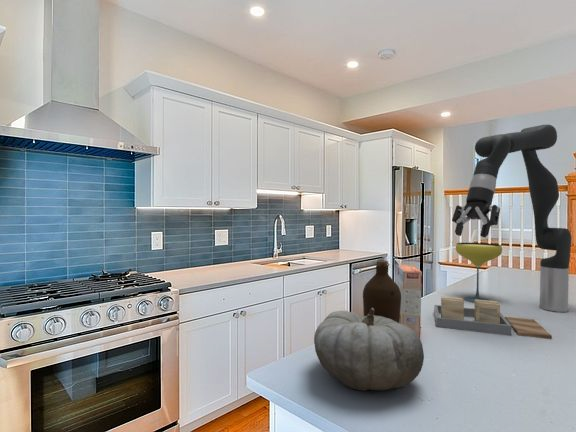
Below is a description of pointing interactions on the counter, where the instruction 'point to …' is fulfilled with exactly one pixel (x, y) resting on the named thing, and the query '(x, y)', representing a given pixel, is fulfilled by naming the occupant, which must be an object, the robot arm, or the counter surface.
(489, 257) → the cocktail glass
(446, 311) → the plain box
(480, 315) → the tan box
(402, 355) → the gourd
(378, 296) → the olive oil
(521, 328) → the board
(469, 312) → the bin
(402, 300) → the cracker box
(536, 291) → the counter surface
